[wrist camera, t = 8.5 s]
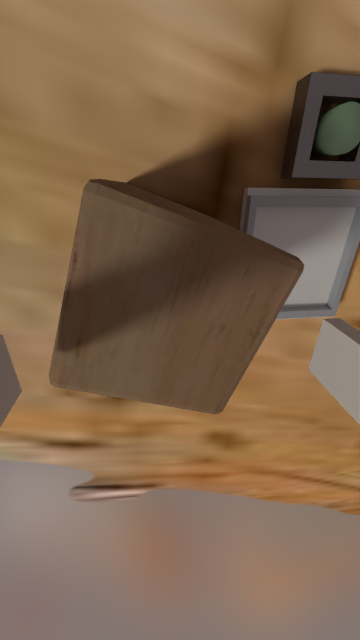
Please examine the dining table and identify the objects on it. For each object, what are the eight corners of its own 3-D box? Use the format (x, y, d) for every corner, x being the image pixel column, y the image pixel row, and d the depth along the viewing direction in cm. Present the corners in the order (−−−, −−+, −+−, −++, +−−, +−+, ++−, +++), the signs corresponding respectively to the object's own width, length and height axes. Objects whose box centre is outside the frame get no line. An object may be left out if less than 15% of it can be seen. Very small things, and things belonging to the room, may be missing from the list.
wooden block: (210, 216, 29) (313, 263, 12) (179, 294, 33) (221, 419, 15) (122, 181, 26) (83, 173, 9) (100, 271, 30) (44, 389, 13)
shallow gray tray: (244, 187, 28) (252, 187, 26) (360, 189, 30) (376, 189, 28) (229, 317, 36) (234, 325, 33) (322, 313, 37) (333, 320, 35)
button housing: (297, 81, 24) (311, 72, 22) (372, 87, 25) (393, 78, 23) (280, 177, 28) (291, 177, 26) (347, 179, 29) (363, 178, 27)
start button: (316, 107, 25) (332, 100, 23) (353, 109, 25) (372, 102, 23) (306, 156, 27) (320, 153, 25) (341, 157, 27) (357, 155, 25)
